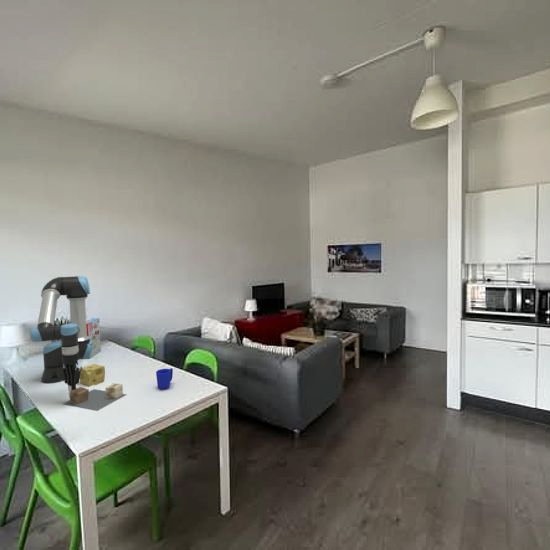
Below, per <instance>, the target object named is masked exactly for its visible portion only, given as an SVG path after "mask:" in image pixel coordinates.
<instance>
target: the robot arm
mask: <svg viewBox="0 0 550 550" xmlns="http://www.w3.org/2000/svg"><path fill="white" fill-rule="evenodd" d="M90 294H91V291H90V283H89V281H88V278H87V277H86V276H81V275H80V276H79V275H75V276H58V277H55V278H52V279H51V280H49V281H48V282H46V283H45V285H44V286H43V288H42V289H41V293H40V296H41V304H40V311H39V315H38V318H37V319H38V320H37V321H38V322H37V325H36V327H32V328H31V329H30V340H31V342H33V343H34V342H35V343H39V342H49V341H53V342H49V343H47V344H45V345H43V352H42V354H43V368H44V369H43V372H42V375H41V377H40V379H41V382H42V383H43V384H52V383H57V382H62V381H64V382H63V383H64V385H65V384H66V385H67V387H68V397H69V399H70V391H72V390H74V389H76V388H77V385H78V384H80V373H81V369H82V368H83V366H80V365H79V363H78V361H79V360H87V359H86V358H89V357H90V356H91V350H92V340H90V338H89V337H88V336H87V329H86V321H87V313H86V299H87V298H88V295H90ZM61 296H65V297H66V299H67V300H68V301H69V314H70V315H69V316H70V319H69V320H70V323H65V324H62V325H55V320H56V313H57V312H56V311H57V306H58V300H59V298H60V297H61Z"/></svg>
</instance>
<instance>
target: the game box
mask: <svg viewBox="0 0 550 550" xmlns="http://www.w3.org/2000/svg"><path fill="white" fill-rule="evenodd" d="M100 327H101V326H100V318H99V317H97V318H91V319H89V320H86V329H87V336H88V337H89V338H90V340H92V350H91V356H90V357H89V358H86V359H85V360H90V359H91V358H93V357H94V356H96V355H97V354H98V353H99V352H101V351H102V348H101V346H102V345H101V328H100Z"/></svg>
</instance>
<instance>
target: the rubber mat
mask: <svg viewBox="0 0 550 550" xmlns="http://www.w3.org/2000/svg"><path fill="white" fill-rule="evenodd" d="M127 395H128V394H126V393H123V395H121V396H120V397H118V398H117V399H107V398H106V390H101V389H95V388H94V389H91V390H89V394H88V400H87V401H85V402H83V403H81V404H79V405H77V404H74V403H71V402H70V400H68V401H65V402H64V403H62V405H64V406H69V407H74V408H80V409H85V410H89V411H96V412H98V411H100V410H101V409H103V408H105V407H107V406H109V405H111V404H113V403H114V402H116V401H118V400H120V399H122V398H124V397H126V396H127Z"/></svg>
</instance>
